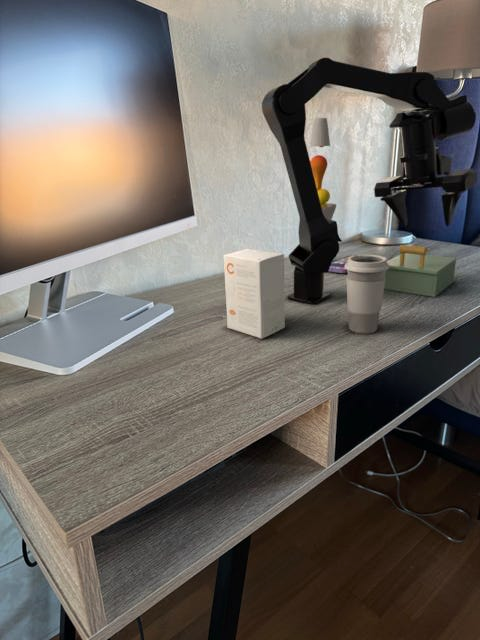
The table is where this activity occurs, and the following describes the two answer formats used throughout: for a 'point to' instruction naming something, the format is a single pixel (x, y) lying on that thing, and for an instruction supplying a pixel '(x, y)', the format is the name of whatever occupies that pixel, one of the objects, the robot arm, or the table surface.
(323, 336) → the table surface
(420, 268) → the box lid
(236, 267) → the small box
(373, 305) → the cup
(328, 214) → the lava lamp
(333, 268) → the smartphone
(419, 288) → the desk box
